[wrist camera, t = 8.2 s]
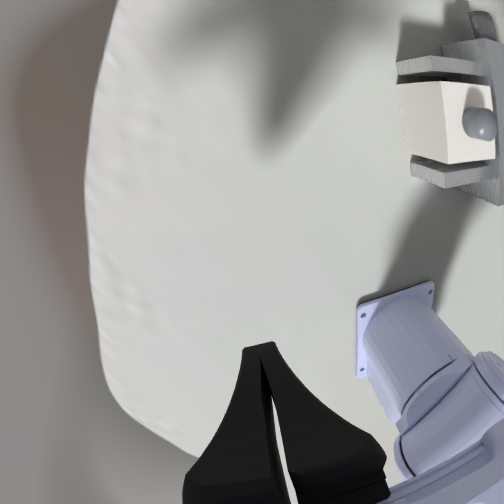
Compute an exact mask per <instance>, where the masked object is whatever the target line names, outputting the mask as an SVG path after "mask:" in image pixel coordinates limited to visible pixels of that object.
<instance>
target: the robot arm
mask: <svg viewBox="0 0 504 504" xmlns="http://www.w3.org/2000/svg"><path fill="white" fill-rule="evenodd" d="M434 289H435V284H434V282H433V281H428V282H425V283H422V284H420V285H417V286H414V287H411V288H408V289H405V290H402V291H400V292H397V293H394V294H391V295H388V296H385V297H382V298H378V299H375V300H372V301H369V302H366V303H363V304H360V305H359V306H358V307H357V357H356V376H357V378H358V379H362V378H365V377H367V378H368V380H369V382H370V384H371V386H372V388H373V390H374V391H375V393H376V395H377V397H378V399H379V401H380V403H381V405H382V407H383V409H384V411H385V413H386V415H387V417H388V418H389V419H390V420H391V421H392V422H393V423H394V424H396V426H397V428H398V430H399V432H400V434H399V435H398V436H397V438H396V439H395V442H394V458H395V463H396V466H397V468H398V470H399V472H400V474H401V475H402V477H403V478H404V479H405V480H406V481H404V482H402V483H400V484H397V485H395V486H393V487H390V488H388V485H387V483H386V480H385V479H386V475H385V473H384V471H383V467H384V465H385V462H386V460H387V456H386V454H385V452H384V450H383V449H382V447H381V446H380V444H379V443H378V442H377V441H376V440H375V439H374V437H373V436H372V435H371V434H369V433H367V432H365V431H363V430H361V429H359V428H358V427H356V426H354V425H352V424H351V423H349V422H348V421H346V420H345V419H343V418H342V417H340V416H339V415H338V414H336V413H335V412H333V411H332V410H331V409H329V408H328V407H327V406H326V405H324V404H323V403H322V402H321V401H320V400H319V399H318V398H316V397H315V396H314V395H313V394H312V393H311V392H310V391H309V390H308V389H307V388H306V387H305V386H304V385H303V383H302V382H301V381H300V380H299V379H298V378H297V377H296V375H295V374H294V373H293V372H292V370H291V369H290V368H289V366H288V365H287V363H286V362H285V361H284V359H283V357H282V356H281V354H280V352H279V350H278V348H277V346H276V344H275V342H273V341H271V342H267V343H263V344H259V345H254V346H250V347H246V348H244V349H243V350H242V360H241V366H240V371H239V375H238V379H237V383H236V386H235V390H234V392H233V395H232V398H231V401H230V404H229V406H228V409H227V411H226V414H225V416H224V418H223V420H222V422H221V424H220V426H219V428H218V430H217V432H216V433H215V435H214V437H213V439H212V440H211V442H210V443H209V445H208V446H207V448H206V449H205V451H204V452H203V454H202V455H201V456H200V458H199V459H198V460H197V462H196V463H195V464H194V465H193V466H192V468H191V469H190V470H189V471H188V472H187V474H186V475H185V479H184V484H183V492H182V498H183V499H182V500H183V504H291V502H290V498H289V494H288V490H287V486H286V481H285V477H284V473H283V468H282V464H281V460H280V455H279V450H278V446H277V440H276V433H275V424H274V414H273V405H272V398H273V401H274V404H275V407H276V411H277V416H278V421H279V426H280V431H281V436H282V441H283V446H284V452H285V457H286V463H287V468H288V472H289V475H290V478H291V480H292V483H293V486H294V488H295V492H296V496H297V500H298V504H504V360H502V359H501V358H500V357H499V356H497V355H496V354H494V353H493V352H491V351H488V352H479V353H478V354H477V355H476V357H474V356H473V355H472V353H471V352H470V351H469V350H468V349H467V348H466V346H465V345H464V344H463V343H462V342H461V341H460V340H459V339H458V337H457V336H456V335H455V334H454V333H453V332H452V331H451V330H450V329H449V327H448V326H447V325H446V324H445V323H444V322H443V321H442V320H441V319H440V318H439V317H438V316H437V314H436V313H435V312H434V311H433V310H432V303H433V296H434ZM429 290H430V291H429ZM363 313H364V314H363ZM362 314H363V315H362ZM271 395H272V396H271Z"/></svg>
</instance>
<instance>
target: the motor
mask: <svg viewBox="0 0 504 504" xmlns="http://www.w3.org/2000/svg"><path fill="white" fill-rule="evenodd" d="M468 14H469V18H470V21H471V24H472V28H473V32H474V35H475V39H473V40H466V41H460V42H454V43H448V44H443V45H441V48H442V53H443V57H440V56H431V55H429V56H424V57H418V58H413V59H408V60H404V61H399V62H396V65H397V70H398V74H399V75H414V76H437V77H447V78H448V82H458V83H467V84H476V85H484V86H490V90H491V98H492V107H493V113H494V114H495V117H496V119H497V125H498V129H497V134H496V137H495V159H487V160H478V161H470V162H462V163H454V164H446V163H442V162H439V161H436V160H432V159H429V160H422V161H416V162H410V163H411V175H412V176H414V177H417V178H420V179H422V180H425V181H427V182H430V183H432V184H435V185H437V186H440V187H442V188H444V189H445V188H450V187H455V186H457V188H458V189H460V190H463V191H465V192H467V193H470V194H472V195H474V196H477V197H479V198H481V199H483V200H486V201H488V202H490V203H492V204H494V205H496V206H501V205H504V44H502V43H499V42H498V41H497V37H496V33H495V30H494V26H493V23H492V19H491V16H490V14H489V13H487V12H483V11H472V12H469V13H468Z"/></svg>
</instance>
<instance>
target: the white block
mask: <svg viewBox="0 0 504 504" xmlns="http://www.w3.org/2000/svg"><path fill="white" fill-rule="evenodd" d="M396 86H397V92H398V98H399V105H400V112H401V119H402V127H403V136H404V146H405V152H407V153H410V154H414V155H418V156H422V157H425V158H429V159H432V160H436V161H439V162H442V163H446V164H454V163H462V162H470V161H478V160H487V159H495V137H496V134H497V129H498V125H497V119H496V117H495V114H494V113H493V107H492V98H491V90H490V86H484V85H476V84H467V83H458V82H446V81H433V82H418V83H407V84H397V85H396Z"/></svg>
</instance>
